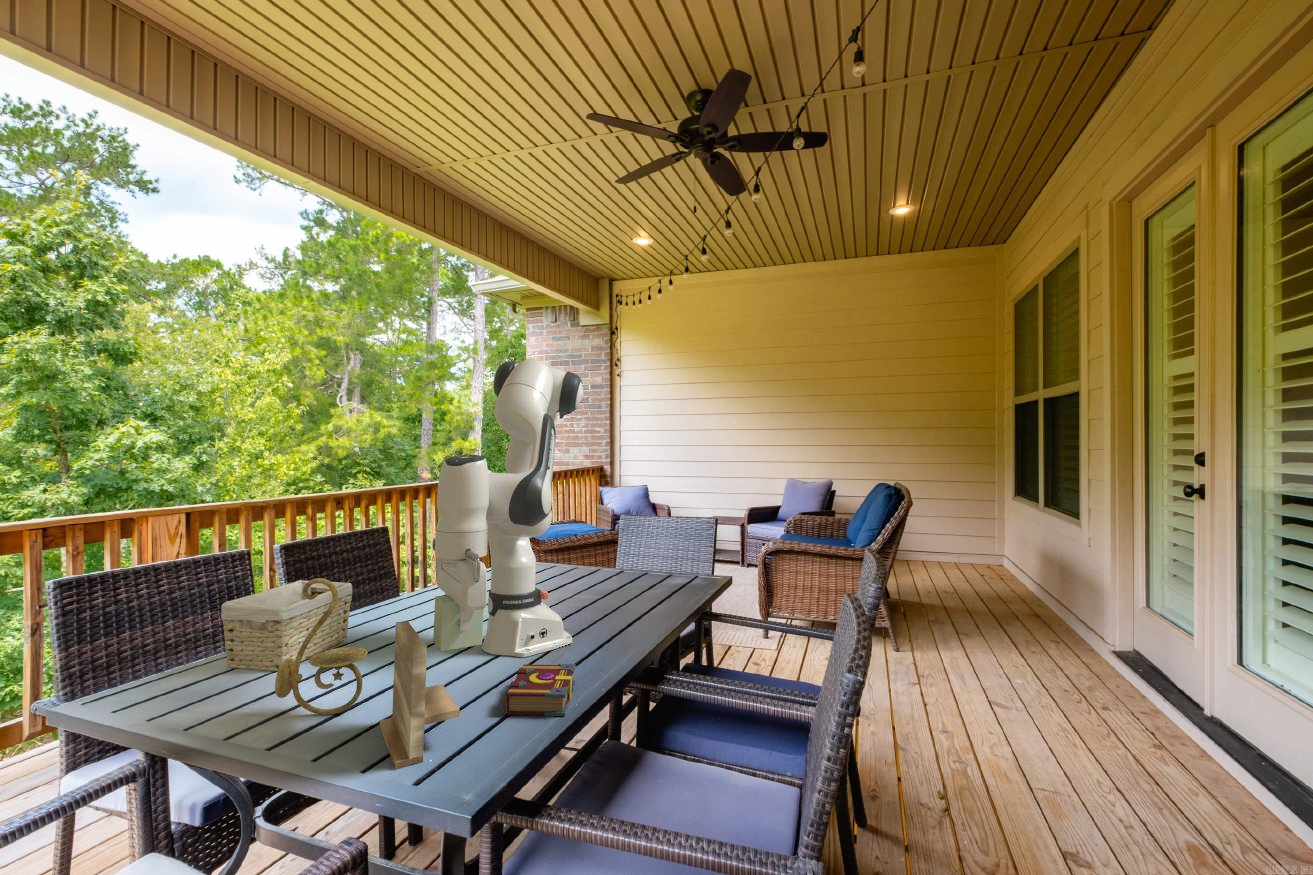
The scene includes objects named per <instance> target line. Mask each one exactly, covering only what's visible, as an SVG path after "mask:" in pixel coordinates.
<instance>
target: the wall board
mask: <svg viewBox="0 0 1313 875" xmlns="http://www.w3.org/2000/svg"><path fill="white" fill-rule="evenodd" d="M394 629H395V632H394V633H395V634H394V656H393V657H394V661H393V684H392V685H393V689H392V713H391V714H392V716H391V717H390V718H385V719H381V720H379V728H380V730H381V731H380V732H381V733H382V736H383V739H384V741H385V744H386V748H387V750H388V752H389V755H390V758H391V761H392V764H393V767H394V769H395V770H397V769H402V768H406V767H409V766H414V765H417V764H420V763H423V762H424V744H425V743H424V741H425V725H429V724H434V723H439V722H443V721H447V720H451V719H455V718H460V716H461V715H460V714H461V712H460V711H461V710H460V707H459V706H458V704H456V702H455V701H454V699H453V697H452V696H451V695H450V693H449V692H448V690H447V689H446V688H445V685H444V684H443V683H441V684H436V685H431V686H427V687H426V684H427V682H426V681H427V659H428V658H427V654H428V646H427V645H426V644H425V642H424V641H423V639H422V638H421V637H420V635H419V634H418V632H417V631H416V630H415V628H414V627H413V626H412V624H411V623H410V621H408V620H403V621H395V628H394Z"/></svg>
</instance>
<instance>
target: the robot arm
mask: <svg viewBox="0 0 1313 875" xmlns="http://www.w3.org/2000/svg"><path fill="white" fill-rule="evenodd" d="M492 384H493V391H494V395H495V396H496V400H495V405H494V410H493V412H494V416H495V420H496V422H497V424H498V426H499V427H500V428H501V429H502V430H503V431H504V432H505V433H506V434H508V435H509V436H510V439H509V442H508V443H509V444H508V446H507V447H508V448H507V451H506V456H505V460H504V468H505V471H506V473H505V472H492V470H489V468H488V462H487V458H486V457H484V456H482V455H478V454H461V455H459V454H458V455H453V456H450V457H447V459H445V460H443V462H442V465H441V468H440V473H439V476H438V477H439V478H438V483H437V495H436V508H437V512H438V521H437V524H436V526H435V538H433V539H432V550H433V551H434V556H435V557H434V559H435V562H434V564H435V579H436V585H437V588H439V589H440V590H441V591H442V592H443V593H444V594H445V595H448V596H449V597H450V598H451V599H452V600H453V601H454V602H456V603H457V604H458V605H459V606H460V611H461V612H460V618H459V620H458V623H459V624H458V627H459V628H460V630H462V631H464V630H469V629H470V628H471V619H472V616H473V613H474V610H481V609H485V608H486V606H487V613H488V617H487V618H488V620H487V627H486V632H485V634H484V638H483V641H482V644H481V649H482V650H483V651H484V652H486V653H488V654H492V655H496V656H513V657H517V658H526V657H530V656H534V655H537V654H542V653H545V652H548V651H552V650H555V649H559V647H560V648H563V647H566V646H565V645H567V646H569V645H568V644H570V643H572V644H573V637H572V635H571V634H570V633H569V632H568V631H566V630H565V628H564V622H563V619H562V617H561V616H560V615H559V614H558V613H557V612H556V611H554V610H553V609H552V608H550V607H549V606H548V605H547V604H545V603H544V602H542V601H547V600H548V598H549V596H550V593H549V592H548V591H546V590H541V589H539V588H537V587H536V575H537V573H536V572H537V559H536V558H537V557H536V554H535V553H534V551H533V548H532V544H531V541H530V540H531V539H530V538H535V537H539V536H541V535H543V534H545V533H546V532H547V531H548V530H549V528H550V526H551V523H552V520H553V512H552V504H553V474H554V473H553V472H554V464H555V463H554V462H555V454H556V453H555V452H556V439H557V436H556V435H557V433H556V431H557V422H558V413H559V420H561V419H564V416H568V415H571V414H572V413H574V412H575V411H576V410H577V408H578V407H579V406H580V404H581V402H582V400H583V396H584V387H583V380H582V379H581V377H580V376H579V375H578V374H576V373H574V372H571V371H564V370H562V369H558V368H556V367H555V368H554V367H552V366H548V365H547V364H546V363H544V362H542V361H540V360H537V359H525V360H521V361H520V362H518V361H515V360H510V361H504V362H503V363H501V364H500V365H498V367H497V369H496V371H495V374H494V376H493V382H492ZM488 546H489V552H490V564H491V565H490V569H491V570H490V589H489V591H488V576H487V568H486V565H485V564H486V563H484V562H482V561H481V560H480V559H481V558H483V557H487V555H488ZM570 645H571V644H570ZM562 646H563V647H562Z"/></svg>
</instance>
